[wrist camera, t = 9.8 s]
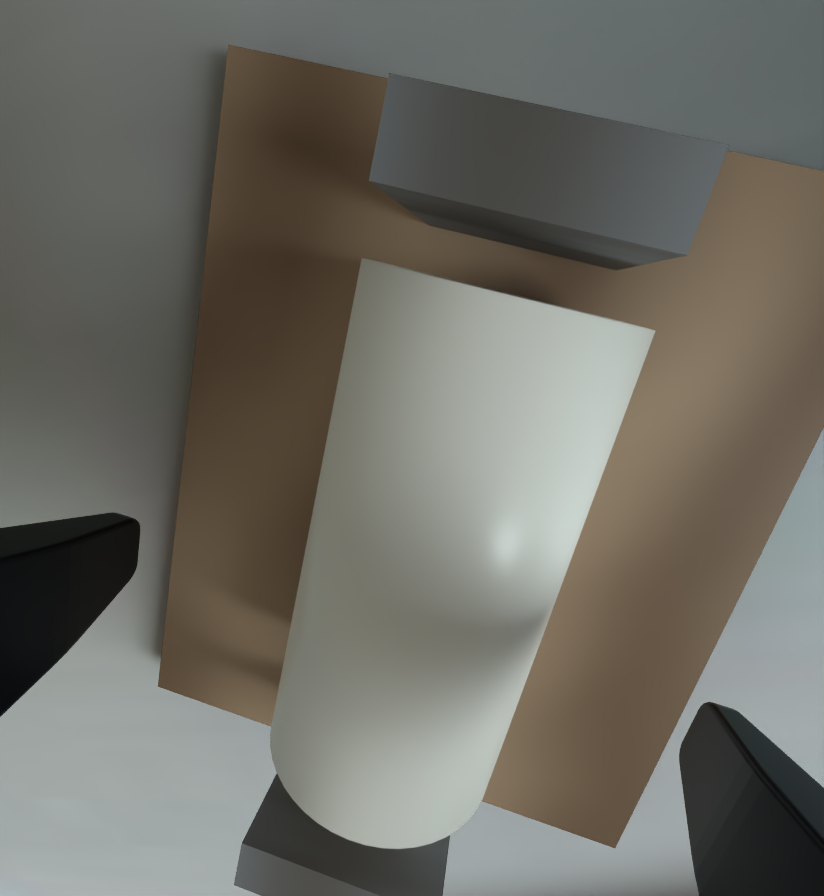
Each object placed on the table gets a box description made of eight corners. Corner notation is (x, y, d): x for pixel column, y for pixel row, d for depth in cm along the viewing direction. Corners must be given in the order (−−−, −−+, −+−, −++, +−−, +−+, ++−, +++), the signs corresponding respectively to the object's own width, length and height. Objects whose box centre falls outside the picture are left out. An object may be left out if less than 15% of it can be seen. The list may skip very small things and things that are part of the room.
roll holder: (901, 203, 11) (1320, 108, 5) (609, 815, 16) (658, 1099, 10) (250, 63, 12) (23, -130, 7) (177, 665, 18) (15, 843, 12)
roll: (626, 321, 11) (695, 341, 7) (494, 696, 15) (478, 890, 10) (399, 265, 12) (315, 248, 7) (319, 636, 15) (224, 791, 10)
